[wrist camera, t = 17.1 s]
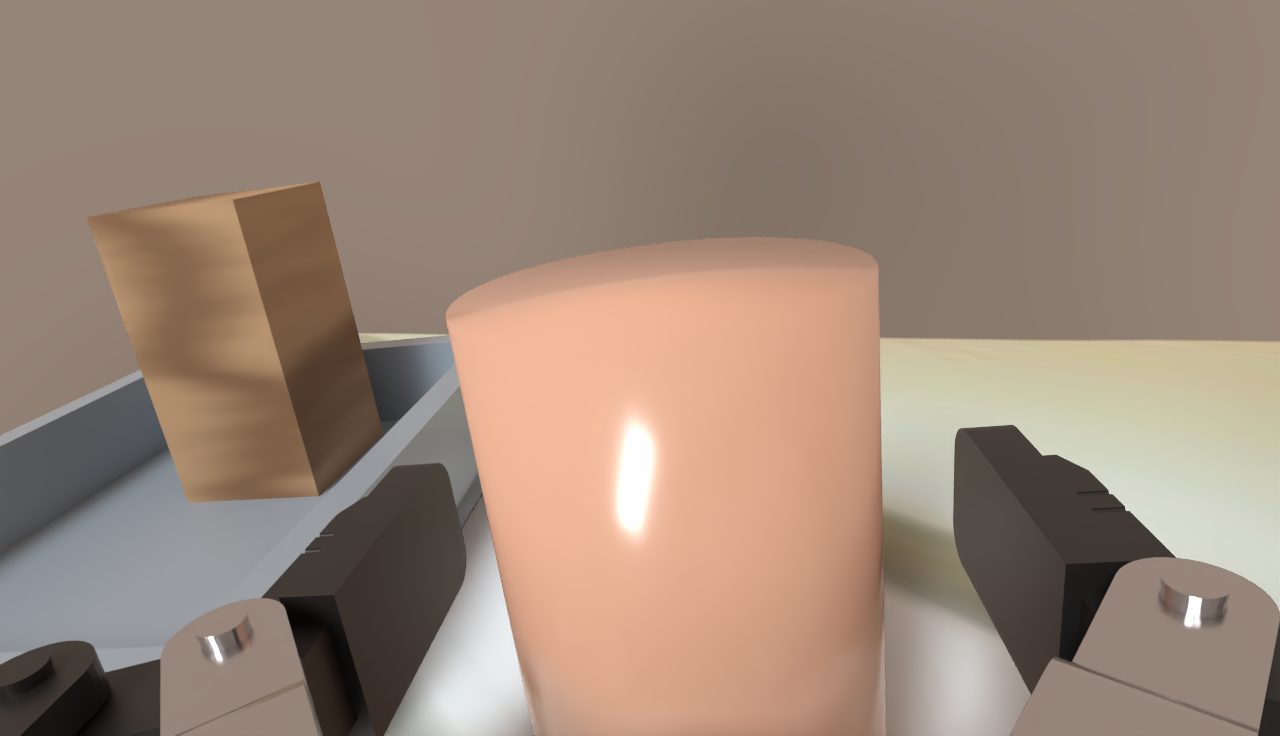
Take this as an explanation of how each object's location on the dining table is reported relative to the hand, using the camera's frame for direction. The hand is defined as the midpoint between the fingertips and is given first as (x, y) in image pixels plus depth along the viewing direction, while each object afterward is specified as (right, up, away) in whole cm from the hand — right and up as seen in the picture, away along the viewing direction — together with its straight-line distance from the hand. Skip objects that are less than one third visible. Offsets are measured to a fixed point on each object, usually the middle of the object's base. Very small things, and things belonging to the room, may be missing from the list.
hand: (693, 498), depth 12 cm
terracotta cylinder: (+1, -6, 0) cm, 6 cm away
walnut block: (-14, -2, +17) cm, 22 cm away
